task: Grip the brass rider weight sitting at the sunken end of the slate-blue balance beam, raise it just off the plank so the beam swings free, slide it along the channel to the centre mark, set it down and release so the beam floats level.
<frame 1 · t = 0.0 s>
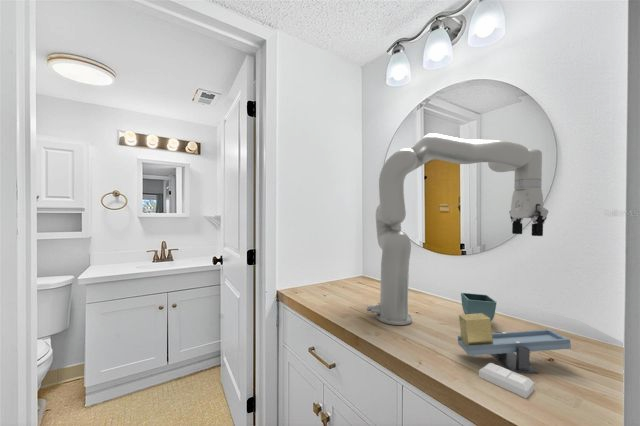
hand: (526, 234, 94), 31 cm above the worktop, fingers open, 9 cm apart
soap bar: (505, 385, 60), on the worktop
rider: (477, 343, 69), point 4 cm above the worktop, tilted 7°, touching beam
beam: (511, 341, 69), point 5 cm above the worktop, hinge at -7.1°, touching rider
stand: (511, 361, 69), on the worktop
flower pot: (477, 323, 95), on the worktop
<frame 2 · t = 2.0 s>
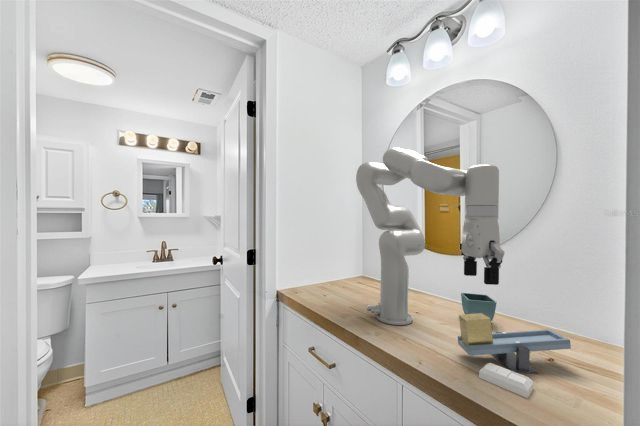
hand: (480, 279, 70), 21 cm above the worktop, fingers open, 9 cm apart
nothing on the worktop moved.
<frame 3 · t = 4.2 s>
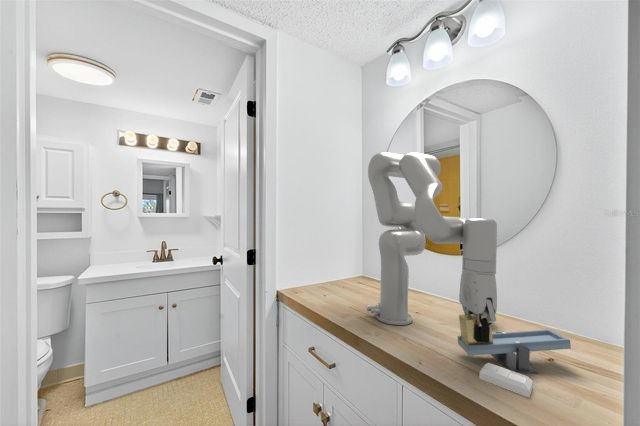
hand: (477, 336, 69), 6 cm above the worktop, fingers closed on rider, 3 cm apart
rider: (477, 343, 69), point 4 cm above the worktop, tilted 7°, touching beam, gripper
everything else where it was.
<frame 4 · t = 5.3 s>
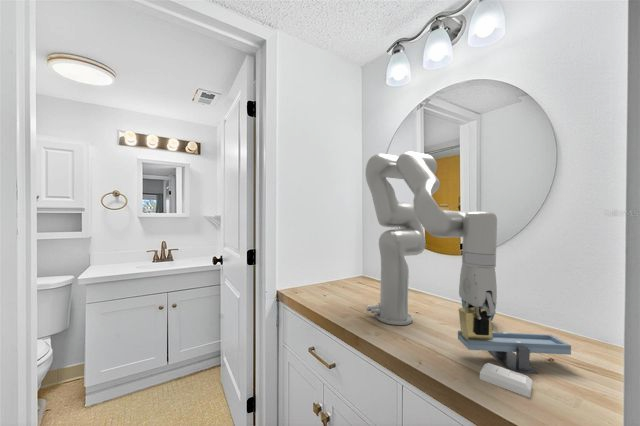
hand: (476, 330, 70), 8 cm above the worktop, fingers closed on rider, 3 cm apart
rider: (476, 337, 70), point 6 cm above the worktop, tilted 7°, touching gripper
beam: (511, 341, 69), point 5 cm above the worktop, hinge at -0.3°
everything else where it was.
when the fingers open (7 cm above the worktop, at t = 8.5 s): rider stays where it is, resting on beam.
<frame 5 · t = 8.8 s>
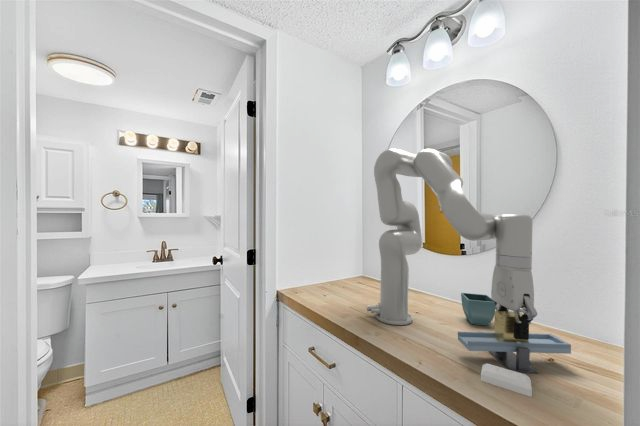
hand: (511, 332, 69), 8 cm above the worktop, fingers open, 6 cm apart
rider: (511, 341, 69), point 5 cm above the worktop, touching beam
beam: (511, 341, 69), point 5 cm above the worktop, hinge at -1.4°, touching rider
everything else where it was.
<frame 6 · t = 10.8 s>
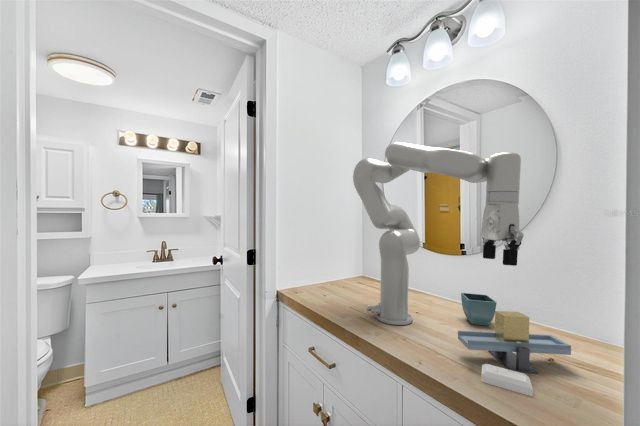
hand: (498, 261, 74), 25 cm above the worktop, fingers open, 9 cm apart
beam: (511, 341, 69), point 5 cm above the worktop, hinge at -0.1°, touching rider
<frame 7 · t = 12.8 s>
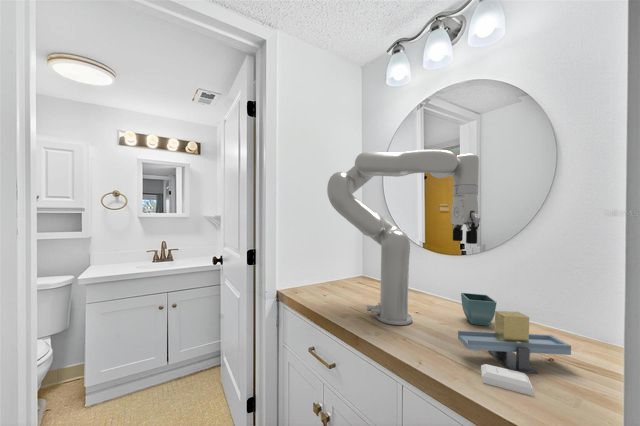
hand: (464, 242, 91), 28 cm above the worktop, fingers open, 9 cm apart
at the end: beam at +0° (first picture: -7°); rider 0.1 cm off-centre on the beam, point 0.6 cm above the beam's base; rider tilted 0° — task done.
